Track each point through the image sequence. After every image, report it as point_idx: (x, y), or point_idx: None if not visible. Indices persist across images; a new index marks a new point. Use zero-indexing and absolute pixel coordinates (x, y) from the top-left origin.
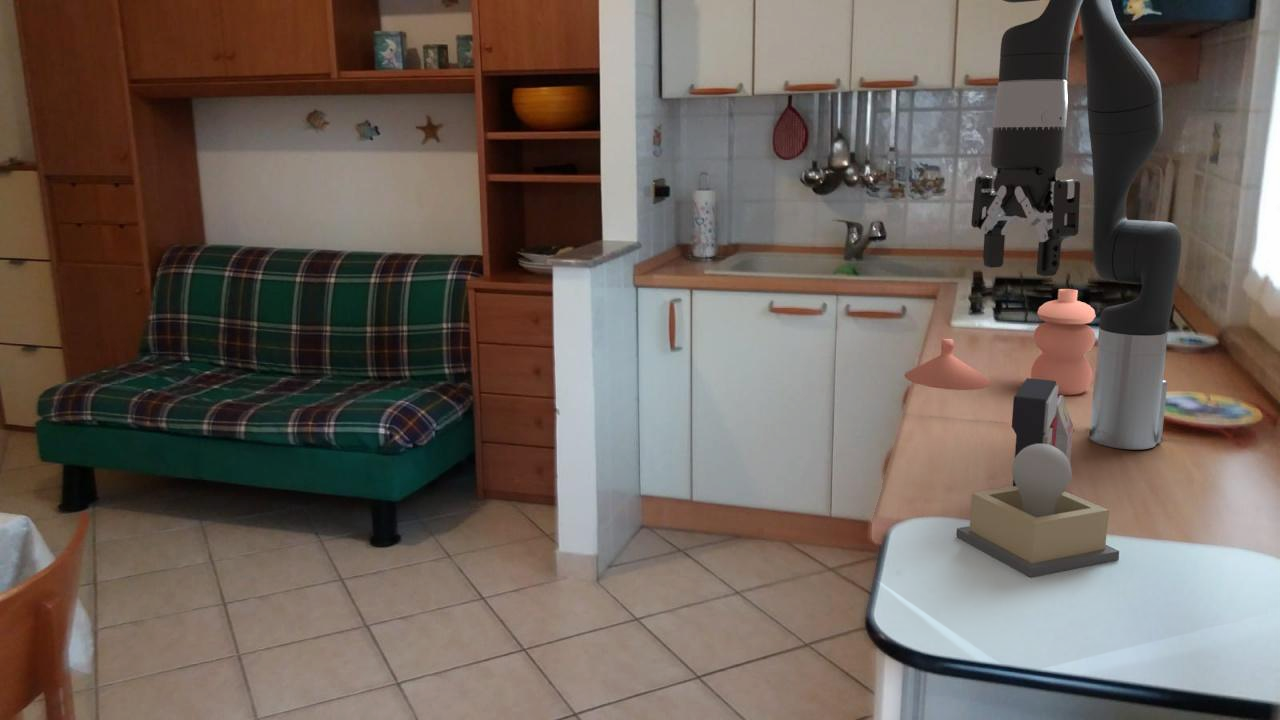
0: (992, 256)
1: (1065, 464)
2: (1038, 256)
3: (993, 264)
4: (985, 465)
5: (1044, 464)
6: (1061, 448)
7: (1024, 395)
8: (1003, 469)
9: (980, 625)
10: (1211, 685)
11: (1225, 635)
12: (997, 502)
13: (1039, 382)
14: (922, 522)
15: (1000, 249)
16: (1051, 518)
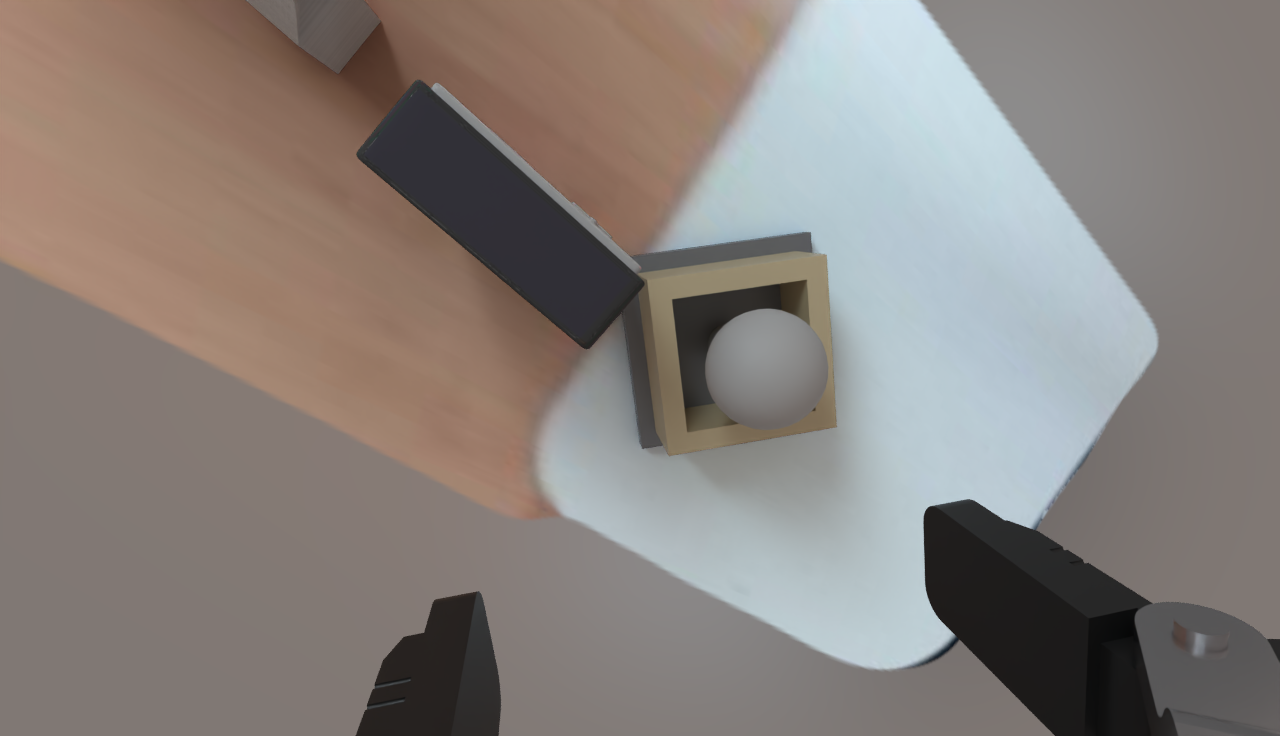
0: (490, 717)
1: (824, 351)
2: (1007, 679)
3: (491, 664)
4: (237, 150)
5: (818, 401)
6: (351, 6)
7: (584, 314)
8: (277, 123)
9: (913, 554)
10: (1120, 378)
11: (1046, 265)
12: (729, 436)
13: (436, 159)
14: (561, 468)
15: (473, 692)
16: (828, 387)
